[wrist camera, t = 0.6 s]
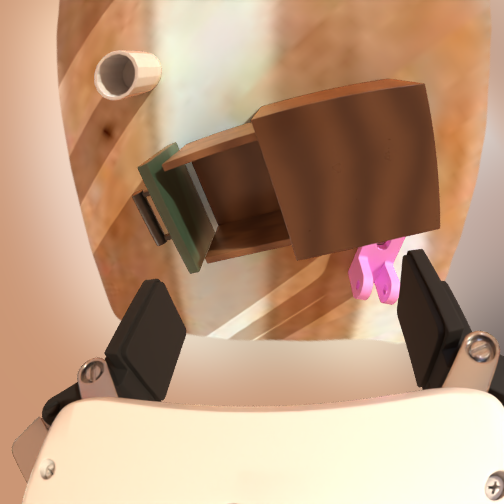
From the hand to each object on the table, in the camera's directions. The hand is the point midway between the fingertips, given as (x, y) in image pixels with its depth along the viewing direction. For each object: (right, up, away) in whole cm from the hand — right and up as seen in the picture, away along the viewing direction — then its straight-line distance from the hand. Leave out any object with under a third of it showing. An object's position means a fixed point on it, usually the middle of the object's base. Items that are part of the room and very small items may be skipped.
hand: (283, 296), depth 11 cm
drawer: (-5, +10, +26) cm, 28 cm away
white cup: (-15, +24, +19) cm, 34 cm away
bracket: (+17, +4, +29) cm, 34 cm away
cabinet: (+10, +14, +23) cm, 28 cm away
